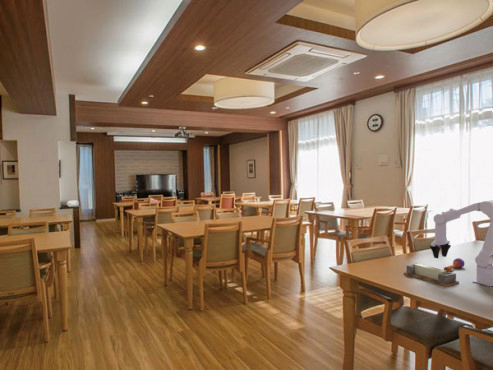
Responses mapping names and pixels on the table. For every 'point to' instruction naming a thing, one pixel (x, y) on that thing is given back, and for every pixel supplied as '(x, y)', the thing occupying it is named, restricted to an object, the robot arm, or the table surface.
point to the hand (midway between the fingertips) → (440, 257)
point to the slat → (429, 271)
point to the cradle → (442, 279)
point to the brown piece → (455, 265)
